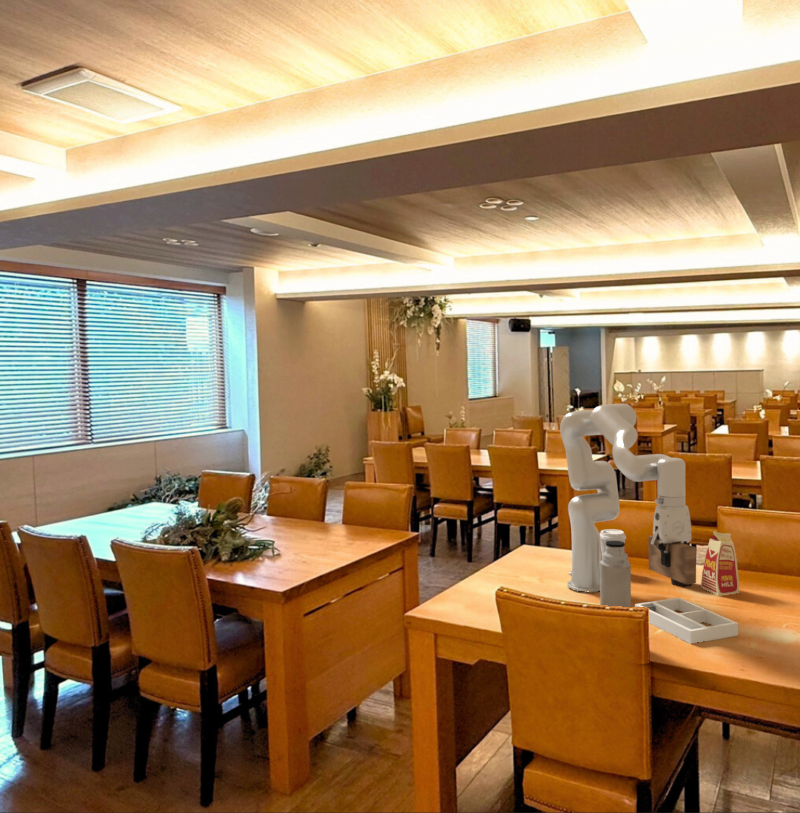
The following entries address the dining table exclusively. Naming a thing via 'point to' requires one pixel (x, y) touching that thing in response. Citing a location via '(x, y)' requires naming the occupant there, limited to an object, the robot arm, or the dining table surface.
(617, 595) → the thermos bottle
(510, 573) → the dining table surface
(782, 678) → the dining table surface
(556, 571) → the dining table surface
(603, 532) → the coffee cup
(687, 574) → the brown wooden block
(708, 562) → the milk carton
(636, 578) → the dining table surface
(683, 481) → the robot arm
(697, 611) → the white compartment tray
